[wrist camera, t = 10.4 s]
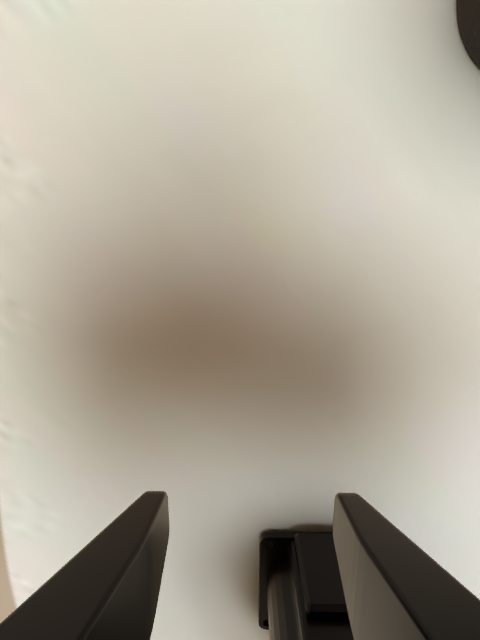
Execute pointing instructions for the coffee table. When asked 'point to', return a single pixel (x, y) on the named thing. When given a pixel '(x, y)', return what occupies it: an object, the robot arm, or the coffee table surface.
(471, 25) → the travel mug
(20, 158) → the coffee table surface
